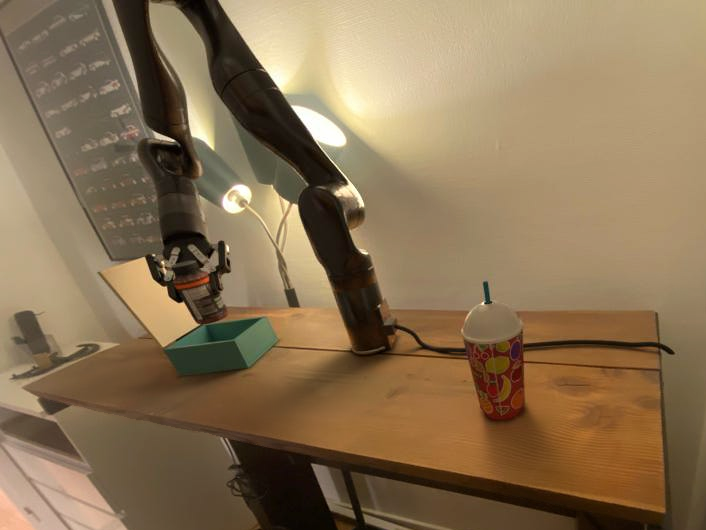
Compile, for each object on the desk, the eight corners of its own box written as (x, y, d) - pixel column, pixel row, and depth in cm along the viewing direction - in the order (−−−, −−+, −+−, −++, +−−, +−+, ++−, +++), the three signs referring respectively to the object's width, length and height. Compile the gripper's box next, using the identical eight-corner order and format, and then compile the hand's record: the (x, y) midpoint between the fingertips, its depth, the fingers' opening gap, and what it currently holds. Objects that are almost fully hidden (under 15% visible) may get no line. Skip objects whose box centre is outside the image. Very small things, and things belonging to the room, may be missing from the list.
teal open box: (278, 340, 94) (267, 315, 91) (248, 367, 83) (234, 340, 79) (217, 348, 96) (204, 323, 92) (179, 376, 84) (162, 349, 81)
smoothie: (473, 397, 60) (451, 277, 51) (524, 389, 60) (512, 267, 51) (478, 431, 53) (453, 298, 43) (536, 421, 53) (524, 286, 43)
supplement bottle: (199, 318, 76) (169, 263, 70) (231, 310, 78) (204, 256, 72) (193, 328, 71) (160, 270, 65) (228, 319, 73) (198, 262, 67)
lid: (154, 253, 84) (136, 260, 85) (99, 271, 72) (79, 278, 73) (204, 321, 92) (188, 327, 93) (163, 347, 80) (144, 353, 81)
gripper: (128, 218, 69) (139, 296, 65) (213, 203, 73) (230, 277, 69) (154, 242, 76) (167, 315, 72) (231, 228, 80) (247, 296, 76)
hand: (197, 296), depth 70 cm, fingers closed on supplement bottle, 6 cm apart
